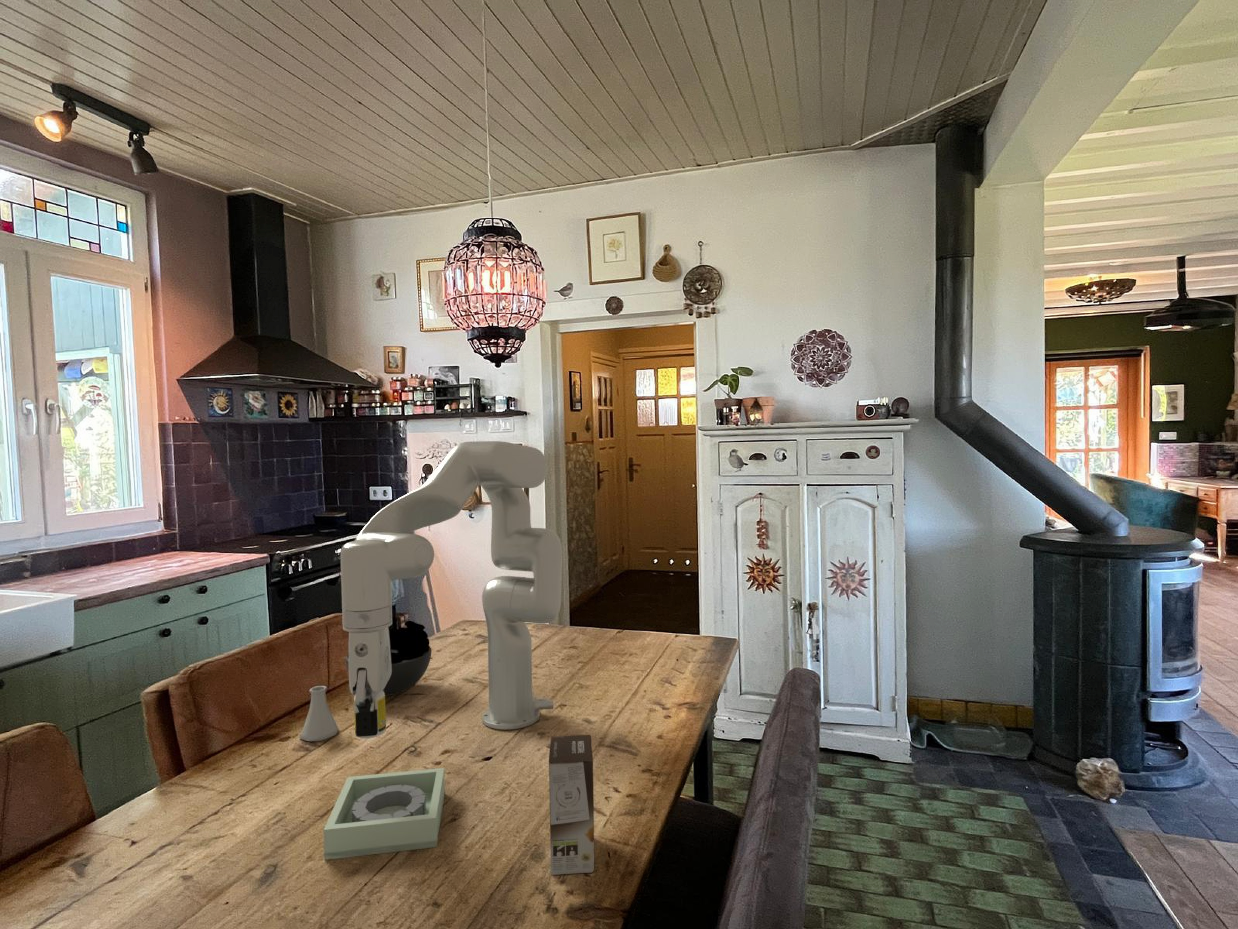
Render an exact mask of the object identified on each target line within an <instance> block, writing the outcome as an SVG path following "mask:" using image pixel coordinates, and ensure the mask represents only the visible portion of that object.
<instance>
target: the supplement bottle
mask: <svg viewBox="0 0 1238 929" xmlns="http://www.w3.org/2000/svg"><path fill="white" fill-rule="evenodd" d="M371 690H372V689H371V687H366V691H371ZM355 696H356V694H354V696H353V710H354V711H353V712H354V713H353V715H354V734H355V736H356V715H355V712H356V711H355V709H356V703H355ZM370 696H371V695H366V698H369V700H370ZM375 709H377V719H378V733H377V735H375V736H362V737H358V736H356V737H357V738H360V739H363V740H365V739H367V740H368V739H372V738H376V737H379V736H381V735H383V734H385V733H386V731H387V720H386V719H387V718H386V717H387V715H386V712H387V711H386V696H385V693H384V692H383V691H381V692H380V693H378V692H377V691H375Z"/></svg>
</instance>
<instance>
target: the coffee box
mask: <svg viewBox="0 0 1238 929" xmlns="http://www.w3.org/2000/svg"><path fill="white" fill-rule="evenodd" d="M592 744H593V743H592V736H591V734H573V735H571V734H570V735H563V736H551V737H550V742H549V754H548V776H549V777H548V779H549V781H548V783H549V787H548V788H549V790H548V792H549V836H550V837H549V839H550V842H549V843H550V847H549V848H550V875H552V876H556V875H557V876H559V875H571V874H572V875H573V874H585V873H586V874H587V873H589V874H590V873H593V872H594V870H595V813H594V811H595V808H594V807H595V806H594V805H595V804H594V803H595V799H594V795H595V794H594V758H593V757H594V756H593V747H592Z"/></svg>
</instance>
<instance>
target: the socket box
mask: <svg viewBox="0 0 1238 929" xmlns="http://www.w3.org/2000/svg"><path fill="white" fill-rule="evenodd" d="M445 781H446V780H445V767H439V768H437V767H436V768H429V769H418V770H417V769H416V770H410V771H408V770H407V771H397V772H385V773H378V774H377V773H375V774H365V775H356V776H348V777H347V778H346V780H345V782H344V784H343V786H342V788H341V791H340V792H339V795H338V797H337V800H336V802H335V804H334V806H333V809H332V811H331V813H330V815H329V817H328V820H327V822H326V824H325V826H324V828H323V848H324V849H323V851H324V852H323V854H324V855H323V856H324V857H323V858H324V861H327V860H336V859H344V858H353V857H361V856H363V857H364V856H368V855H369V856H370V855H380V854H385V853H387V854H388V853H397V852H404V851H412V850H415V851H416V850H422V849H423V850H424V849H430V848H437V847H438V840H439V833H440V828H441V820H442V814H443V807H444V801H445V795H446V794H445V793H446V788H445V785H446V784H445Z"/></svg>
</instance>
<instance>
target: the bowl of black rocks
mask: <svg viewBox="0 0 1238 929" xmlns="http://www.w3.org/2000/svg"><path fill="white" fill-rule="evenodd" d="M404 626H405V627H399V628H398V629H397V628H395V627H392V628H391V629H390V630H389V638H390V651H391V665H392V673H391V676H390V678H389V680H388V682H387V684H386V686H385V688H384V693H385V697H386V696H395V695H397V694H401V693H403V692H406V691H408V690H409V689H410V688H412V687H413V686H415V685H416V684H417V683H418V682H419V681H420V680H421V679H422V678H423V676H424V674H426V672H427V669H428V667H429V665H430V661H431V658H432V647H431V646H430V639H429V638H428V635H429V634H428V633H427V632H426V630H425V629H426V627H425V626H424V625H423V624H421V623H418V622H415V621H413V620H405V622H404ZM345 666H346V668H347V669H346V670H347V671H348V673H349V650H348V651H347V655H346V656H345Z"/></svg>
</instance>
